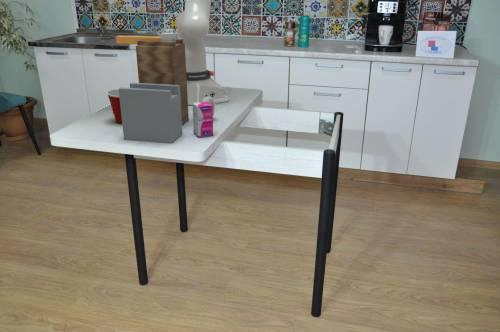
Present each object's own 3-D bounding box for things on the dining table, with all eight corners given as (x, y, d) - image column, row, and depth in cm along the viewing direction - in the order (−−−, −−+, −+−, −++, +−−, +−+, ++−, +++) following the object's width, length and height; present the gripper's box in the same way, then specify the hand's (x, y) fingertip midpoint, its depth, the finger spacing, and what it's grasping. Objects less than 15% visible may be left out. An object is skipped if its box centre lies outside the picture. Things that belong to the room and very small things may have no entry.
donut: (206, 125, 182) (205, 99, 178) (198, 124, 183) (197, 99, 179) (216, 118, 191) (215, 94, 187) (208, 117, 192) (207, 93, 188)
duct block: (123, 139, 167) (118, 88, 160) (136, 130, 176) (132, 82, 169) (172, 143, 163) (168, 91, 156) (182, 134, 172) (179, 85, 165)
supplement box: (198, 138, 168) (196, 106, 164) (193, 133, 173) (191, 102, 169) (213, 136, 170) (212, 104, 166) (208, 131, 176) (207, 100, 171)
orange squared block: (115, 43, 175) (114, 32, 174) (120, 42, 179) (119, 31, 177) (171, 45, 170) (170, 34, 169) (175, 44, 174) (175, 32, 172)
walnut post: (142, 126, 181) (135, 41, 169) (155, 118, 191) (149, 37, 179) (177, 129, 177) (172, 43, 166) (188, 120, 188) (184, 38, 176)
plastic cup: (131, 126, 181) (128, 95, 177) (105, 125, 183) (101, 94, 178) (142, 118, 191) (139, 88, 187) (116, 117, 193) (113, 87, 188)
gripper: (85, -35, 167) (115, -6, 170) (101, -25, 187) (127, 1, 190) (73, -22, 168) (103, 7, 171) (90, -13, 188) (116, 13, 191)
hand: (116, 4), depth 180 cm, fingers open, 8 cm apart
